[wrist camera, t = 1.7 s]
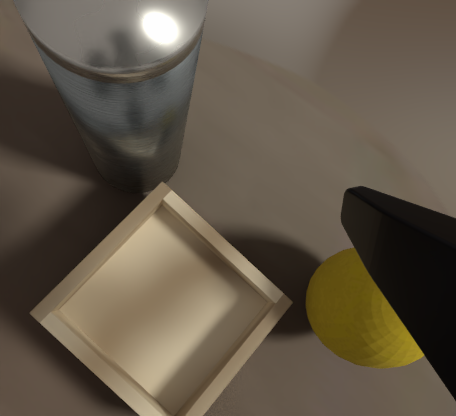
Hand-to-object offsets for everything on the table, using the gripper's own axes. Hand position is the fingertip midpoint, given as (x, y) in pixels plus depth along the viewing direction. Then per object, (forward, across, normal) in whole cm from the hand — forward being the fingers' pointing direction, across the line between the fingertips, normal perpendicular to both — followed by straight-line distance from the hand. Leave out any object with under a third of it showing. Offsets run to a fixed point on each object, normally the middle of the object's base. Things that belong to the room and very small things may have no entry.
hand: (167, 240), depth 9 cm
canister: (+14, 0, +4) cm, 14 cm away
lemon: (+6, -9, +12) cm, 16 cm away
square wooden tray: (+8, 0, +10) cm, 13 cm away
